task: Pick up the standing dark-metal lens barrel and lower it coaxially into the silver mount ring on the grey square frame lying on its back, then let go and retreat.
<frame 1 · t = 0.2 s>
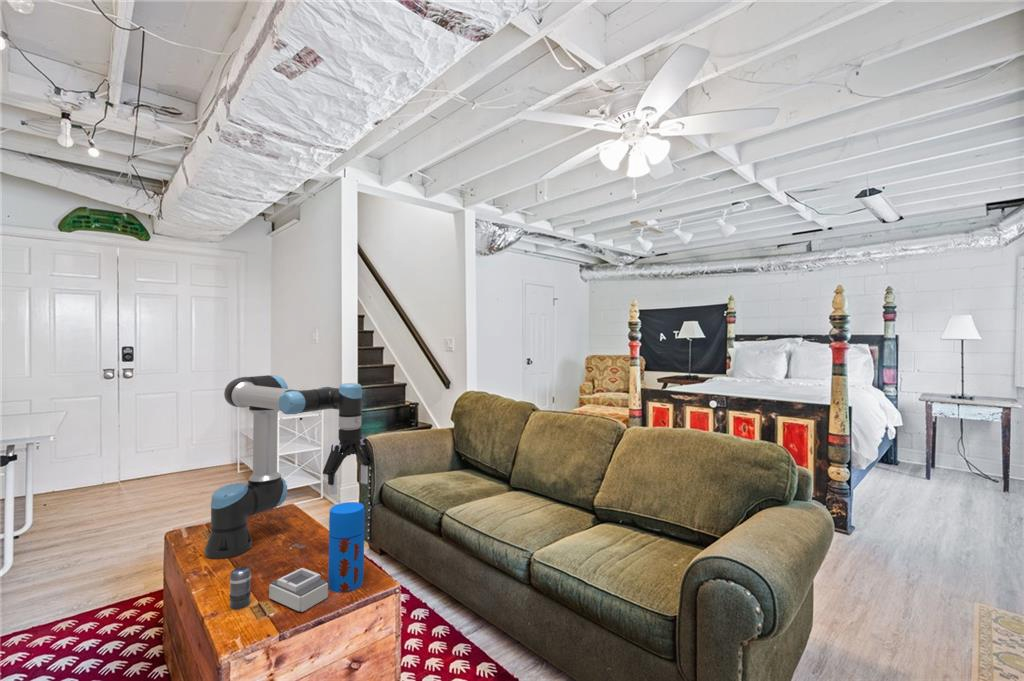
hand: (349, 488, 162), 28 cm above the table, fingers open, 13 cm apart
lens: (240, 604, 138), on the table
grey square frame: (298, 598, 142), on the table
thermos: (346, 584, 151), on the table
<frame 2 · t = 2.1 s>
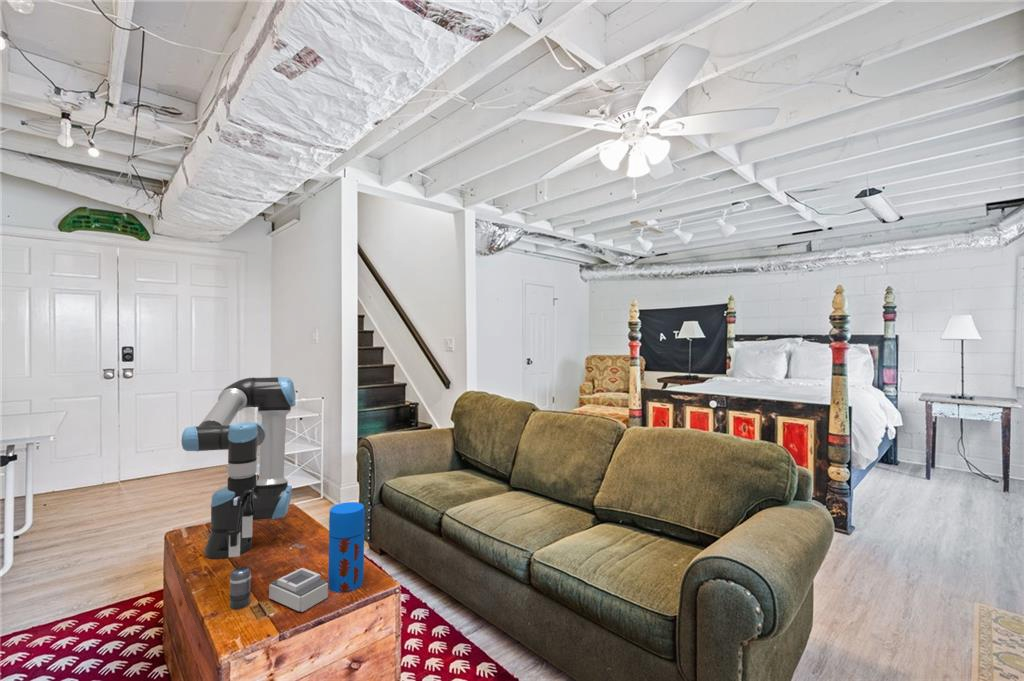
hand: (241, 546, 138), 17 cm above the table, fingers open, 13 cm apart
nothing on the table moved.
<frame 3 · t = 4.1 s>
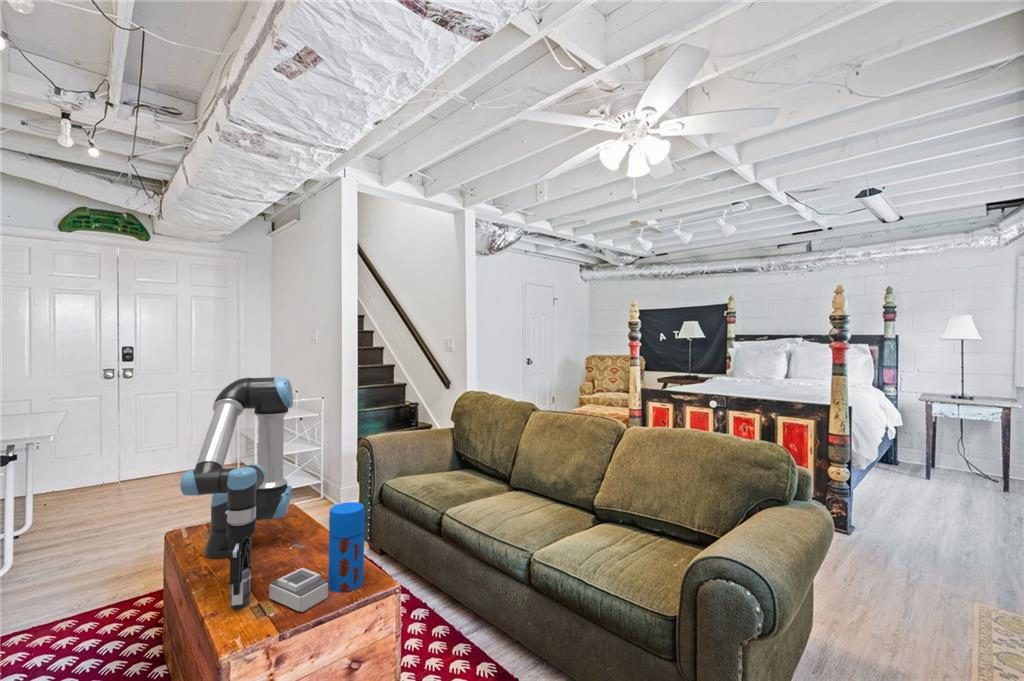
hand: (240, 598, 138), 2 cm above the table, fingers closed on lens, 6 cm apart
lens: (240, 604, 138), on the table, touching gripper
everything else where it was.
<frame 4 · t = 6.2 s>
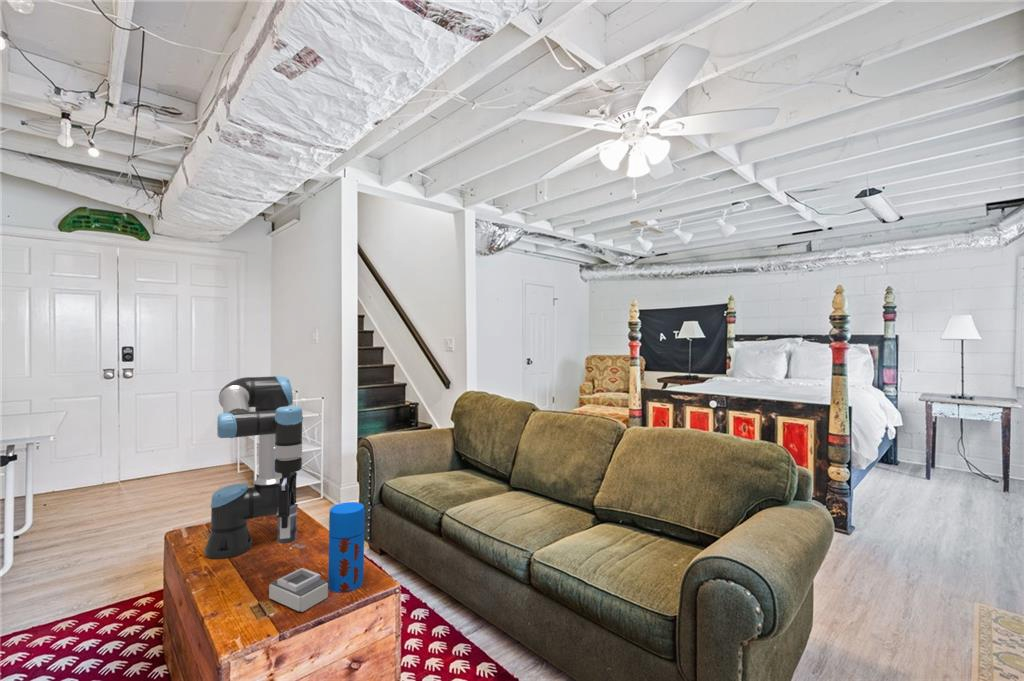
hand: (287, 533, 141), 20 cm above the table, fingers closed on lens, 6 cm apart
lens: (287, 539, 141), point 19 cm above the table, touching gripper
everything else where it was.
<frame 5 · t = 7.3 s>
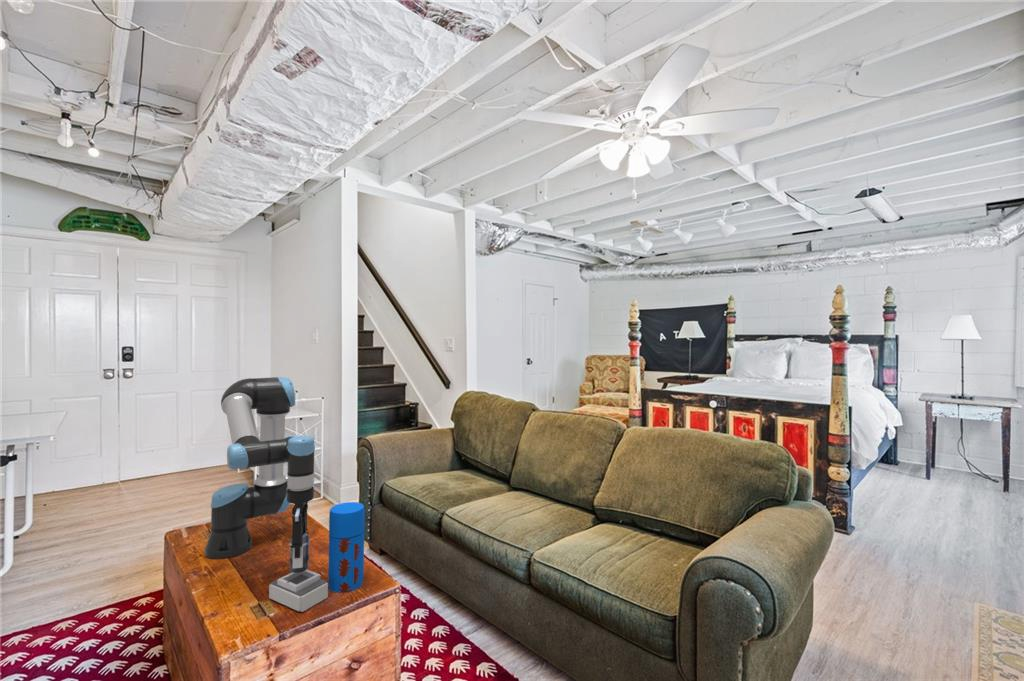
hand: (299, 562, 142), 11 cm above the table, fingers closed on lens, 6 cm apart
lens: (299, 568, 142), point 9 cm above the table, touching gripper
everything else where it was.
when the fingers open (8 cm above the table, at t = 8.3 s): lens stays where it is, resting on grey square frame.
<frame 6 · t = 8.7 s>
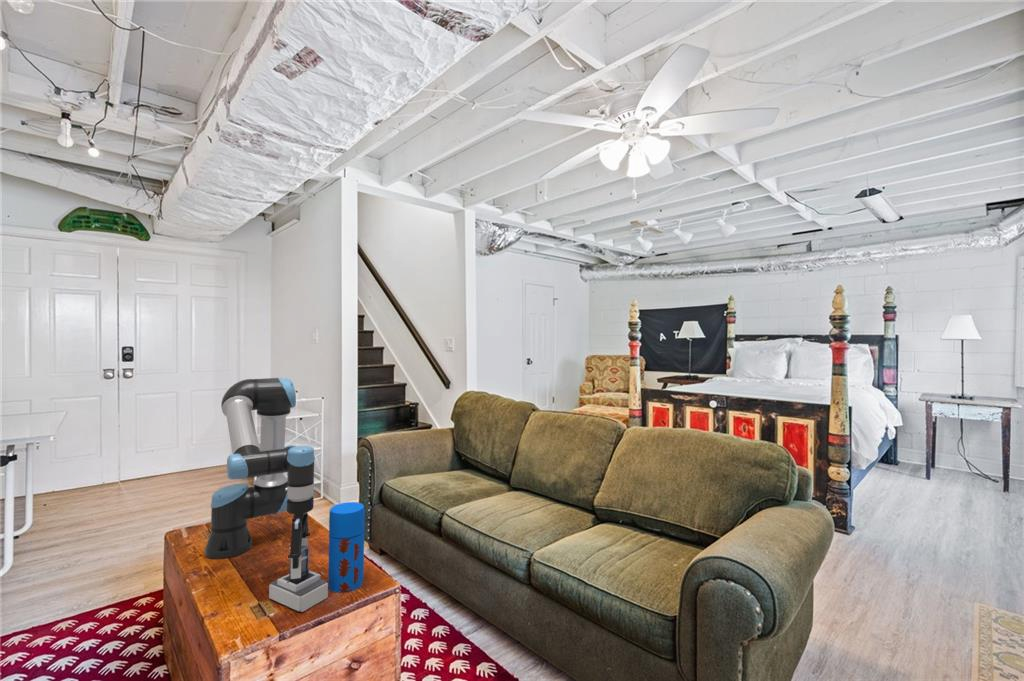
hand: (299, 567, 142), 9 cm above the table, fingers open, 12 cm apart
lens: (298, 581, 142), point 5 cm above the table, touching grey square frame
everything else where it was.
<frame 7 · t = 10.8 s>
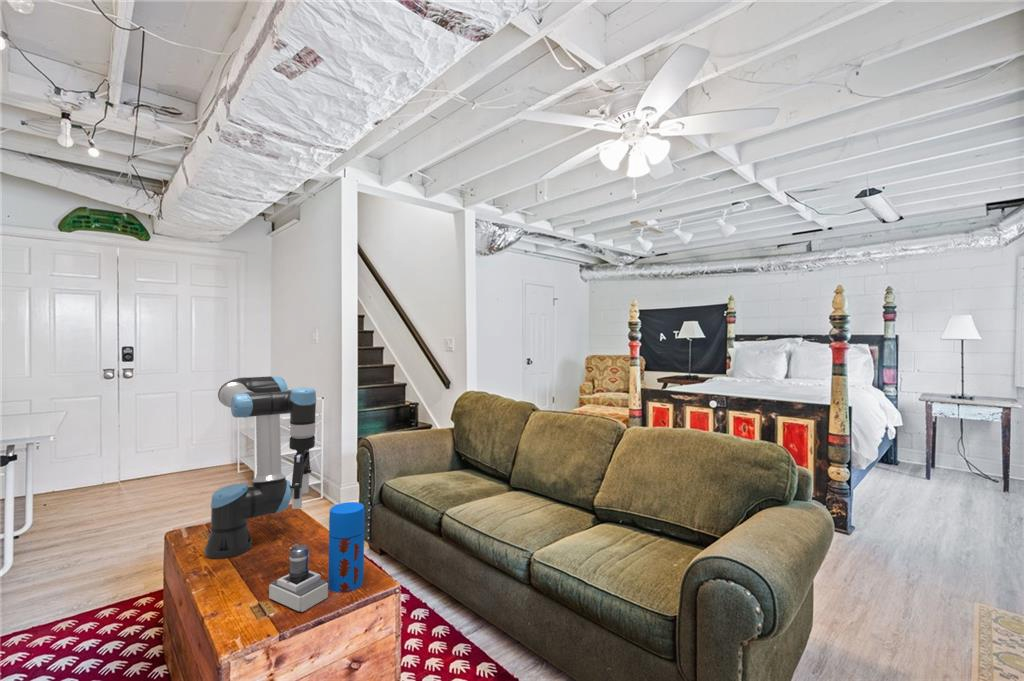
hand: (300, 500, 151), 27 cm above the table, fingers open, 13 cm apart
nothing on the table moved.
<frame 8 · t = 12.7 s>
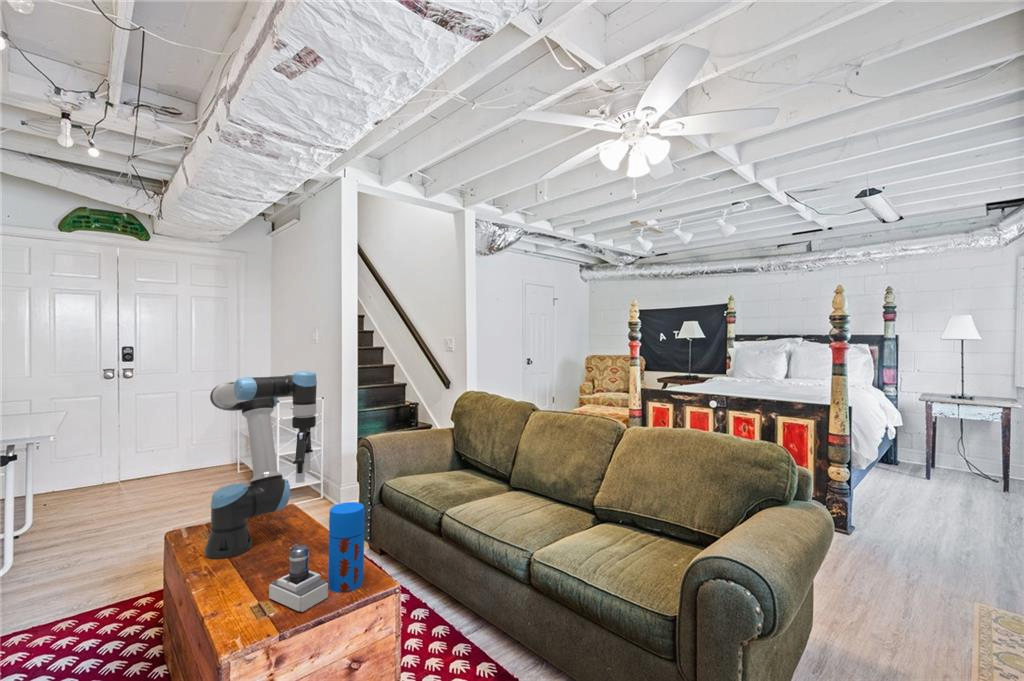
hand: (303, 476, 161), 32 cm above the table, fingers open, 13 cm apart
nothing on the table moved.
at the end: lens 0.1 cm off-centre on the grey square frame, point 5.0 cm above the grey square frame's base; lens tilted 0°; the gripper is holding nothing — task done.
